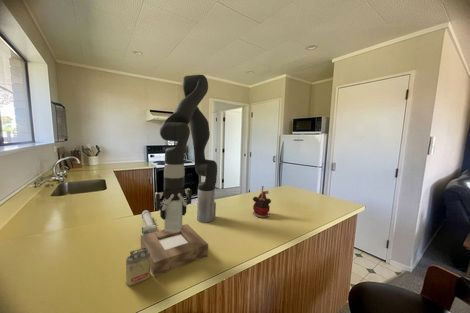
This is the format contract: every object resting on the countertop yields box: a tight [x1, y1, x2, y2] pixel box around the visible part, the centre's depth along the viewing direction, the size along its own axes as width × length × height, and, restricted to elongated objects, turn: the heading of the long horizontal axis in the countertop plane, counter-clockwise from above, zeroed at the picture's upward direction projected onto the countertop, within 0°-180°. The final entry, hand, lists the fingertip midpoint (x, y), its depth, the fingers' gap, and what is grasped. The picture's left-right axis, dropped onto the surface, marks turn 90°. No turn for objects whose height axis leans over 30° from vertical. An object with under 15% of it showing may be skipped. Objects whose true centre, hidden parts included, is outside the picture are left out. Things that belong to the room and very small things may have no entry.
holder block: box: [140, 223, 209, 278], centre depth 77 cm, size 20×20×5 cm
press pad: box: [159, 234, 188, 250], centre depth 77 cm, size 9×9×1 cm
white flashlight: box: [141, 209, 158, 235], centre depth 96 cm, size 5×7×25 cm
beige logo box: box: [125, 246, 152, 286], centre depth 62 cm, size 7×4×10 cm, turn 130°
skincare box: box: [163, 200, 183, 232], centre depth 76 cm, size 6×4×12 cm
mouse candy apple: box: [252, 185, 272, 218], centre depth 117 cm, size 11×9×18 cm
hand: (173, 216), depth 76 cm, fingers closed on skincare box, 7 cm apart
